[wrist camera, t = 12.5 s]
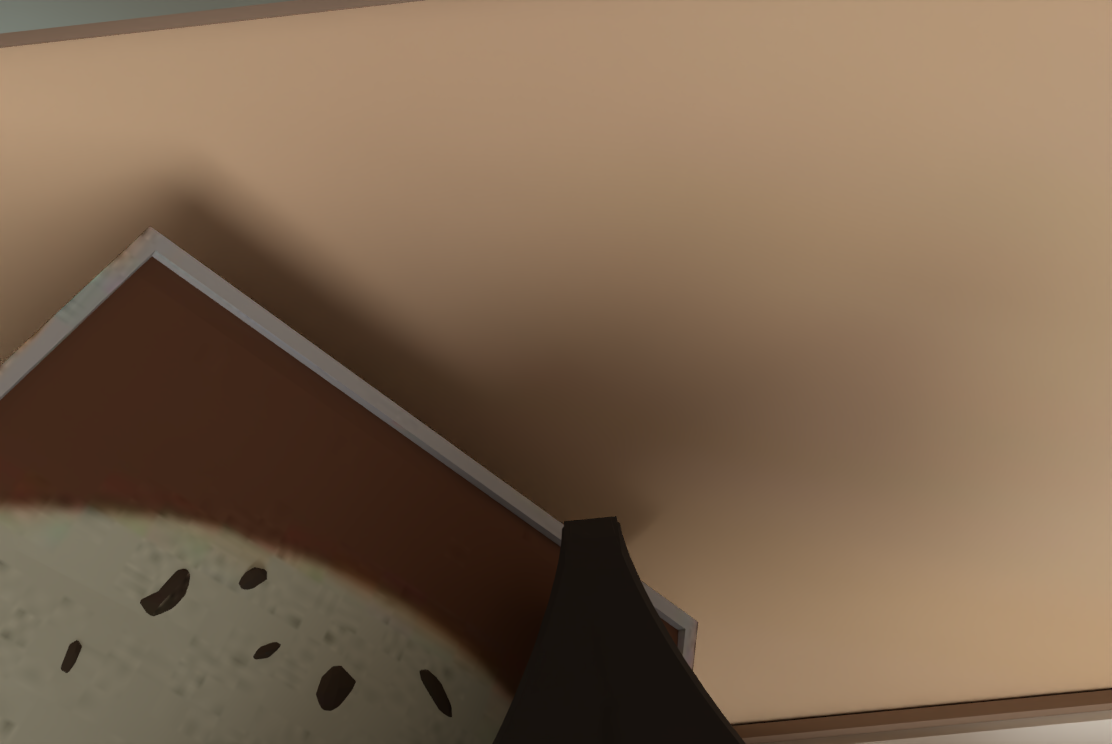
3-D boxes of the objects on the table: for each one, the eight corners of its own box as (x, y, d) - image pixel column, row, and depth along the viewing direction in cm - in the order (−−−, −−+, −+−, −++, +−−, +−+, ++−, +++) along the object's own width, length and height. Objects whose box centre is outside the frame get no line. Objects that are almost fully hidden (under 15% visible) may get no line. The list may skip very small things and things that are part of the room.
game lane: (1209, 745, 21) (1223, 767, 20) (228, 837, 21) (222, 860, 21) (1615, -335, 11) (1659, -338, 11) (-206, -124, 11) (-234, -118, 11)
